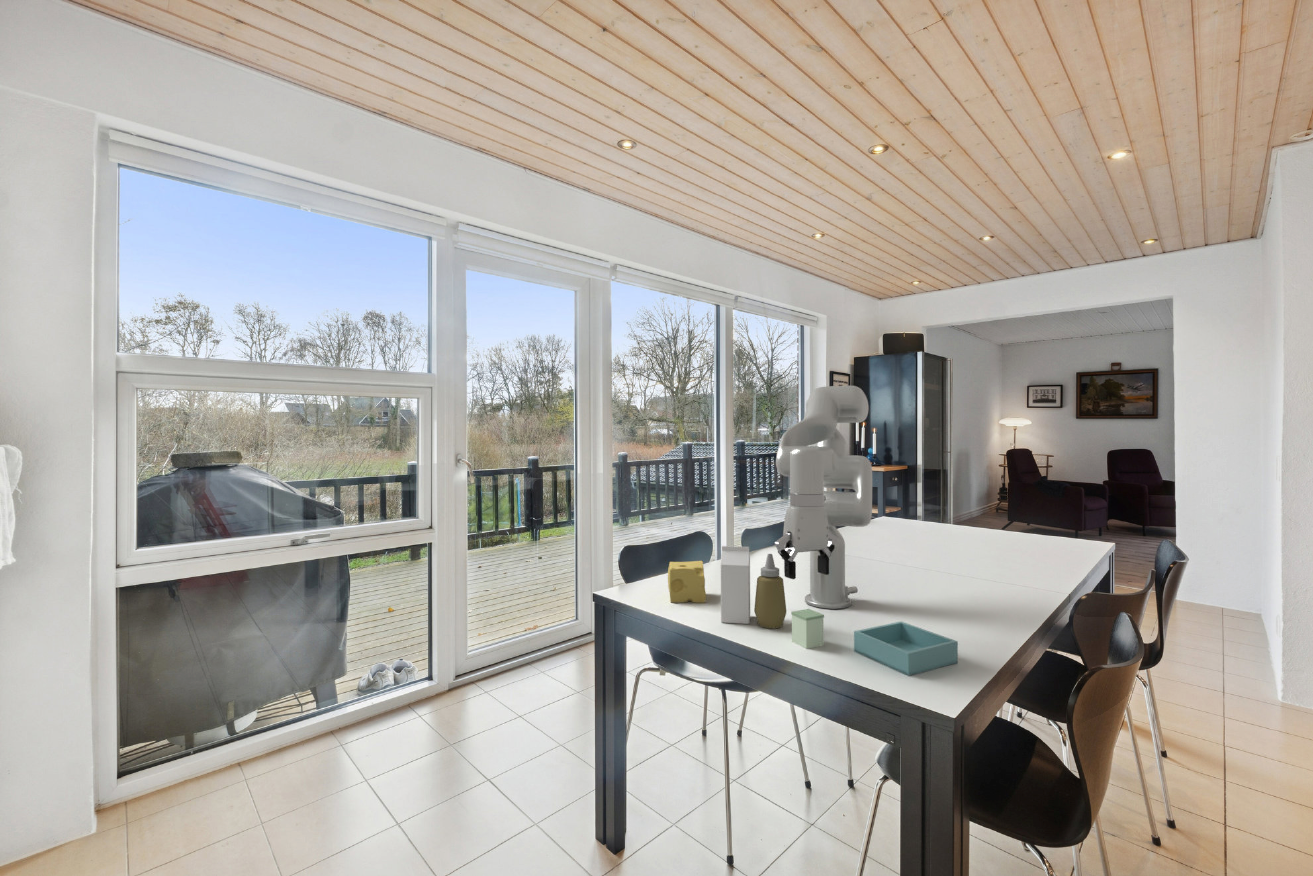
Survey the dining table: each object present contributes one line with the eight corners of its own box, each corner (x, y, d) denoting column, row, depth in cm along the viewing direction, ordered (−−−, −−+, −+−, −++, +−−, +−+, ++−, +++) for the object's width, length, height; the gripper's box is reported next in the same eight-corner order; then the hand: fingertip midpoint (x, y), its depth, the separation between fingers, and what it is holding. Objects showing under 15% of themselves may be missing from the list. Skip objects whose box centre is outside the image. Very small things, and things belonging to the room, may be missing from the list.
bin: (901, 640, 137) (901, 621, 137) (957, 662, 124) (957, 641, 124) (854, 651, 131) (854, 631, 130) (908, 676, 117) (908, 653, 117)
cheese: (705, 603, 168) (705, 568, 168) (668, 603, 168) (667, 568, 168) (703, 593, 178) (703, 560, 178) (667, 593, 178) (667, 560, 178)
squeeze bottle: (752, 620, 153) (751, 550, 152) (783, 620, 152) (783, 550, 152) (756, 630, 144) (756, 557, 144) (789, 630, 144) (789, 557, 144)
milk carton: (749, 624, 149) (748, 549, 149) (721, 623, 151) (720, 548, 150) (750, 615, 156) (749, 544, 156) (723, 614, 158) (722, 543, 157)
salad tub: (808, 638, 139) (808, 608, 139) (824, 645, 135) (824, 614, 135) (791, 641, 137) (791, 611, 137) (806, 649, 132) (806, 618, 132)
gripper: (824, 498, 142) (824, 569, 142) (766, 501, 135) (766, 576, 135) (847, 501, 136) (847, 575, 136) (787, 504, 128) (787, 583, 128)
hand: (806, 575), depth 135 cm, fingers open, 9 cm apart
